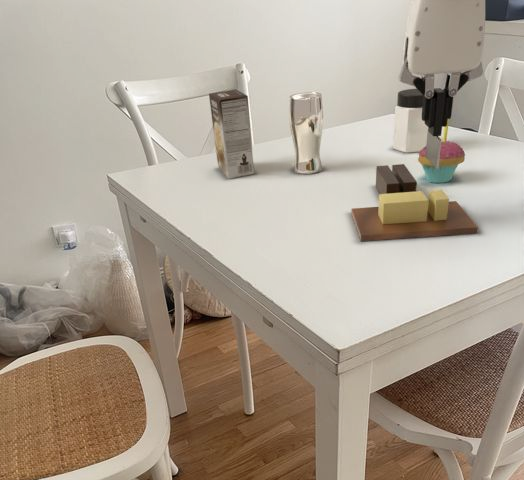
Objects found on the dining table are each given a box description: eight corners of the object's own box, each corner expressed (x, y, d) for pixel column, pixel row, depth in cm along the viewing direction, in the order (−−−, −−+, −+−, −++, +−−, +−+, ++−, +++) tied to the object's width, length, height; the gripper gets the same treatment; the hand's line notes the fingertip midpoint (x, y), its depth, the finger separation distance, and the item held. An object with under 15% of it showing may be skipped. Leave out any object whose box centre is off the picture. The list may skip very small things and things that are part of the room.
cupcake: (422, 171, 111) (427, 108, 104) (465, 174, 107) (474, 109, 100) (412, 184, 104) (417, 119, 98) (457, 188, 101) (466, 120, 94)
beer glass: (322, 174, 114) (321, 97, 106) (290, 175, 116) (286, 99, 107) (325, 164, 120) (324, 91, 111) (294, 165, 121) (290, 93, 113)
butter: (420, 211, 90) (421, 190, 88) (426, 221, 86) (428, 200, 84) (378, 214, 91) (379, 194, 89) (382, 224, 87) (383, 203, 85)
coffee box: (217, 168, 124) (207, 92, 115) (243, 164, 125) (236, 88, 116) (228, 179, 117) (218, 99, 108) (255, 174, 118) (249, 94, 109)
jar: (428, 142, 128) (433, 87, 122) (435, 151, 122) (441, 93, 115) (390, 144, 129) (393, 90, 122) (395, 153, 123) (399, 96, 116)
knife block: (402, 184, 105) (403, 163, 103) (415, 204, 96) (416, 181, 94) (375, 186, 105) (376, 166, 103) (385, 206, 96) (386, 184, 94)
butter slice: (439, 210, 90) (441, 189, 88) (446, 220, 86) (449, 198, 84) (427, 211, 90) (429, 190, 88) (434, 220, 86) (436, 199, 84)
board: (455, 206, 93) (456, 200, 93) (477, 233, 84) (478, 227, 83) (351, 213, 94) (351, 208, 94) (360, 241, 85) (360, 235, 84)
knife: (430, 155, 86) (437, 85, 80) (441, 168, 80) (449, 94, 75) (422, 156, 86) (428, 86, 80) (433, 169, 81) (441, 95, 75)
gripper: (501, -30, 73) (480, 115, 83) (385, -20, 73) (378, 123, 84) (522, -31, 66) (496, 126, 77) (395, -20, 67) (387, 135, 78)
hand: (435, 124), depth 80 cm, fingers closed on knife, 1 cm apart
